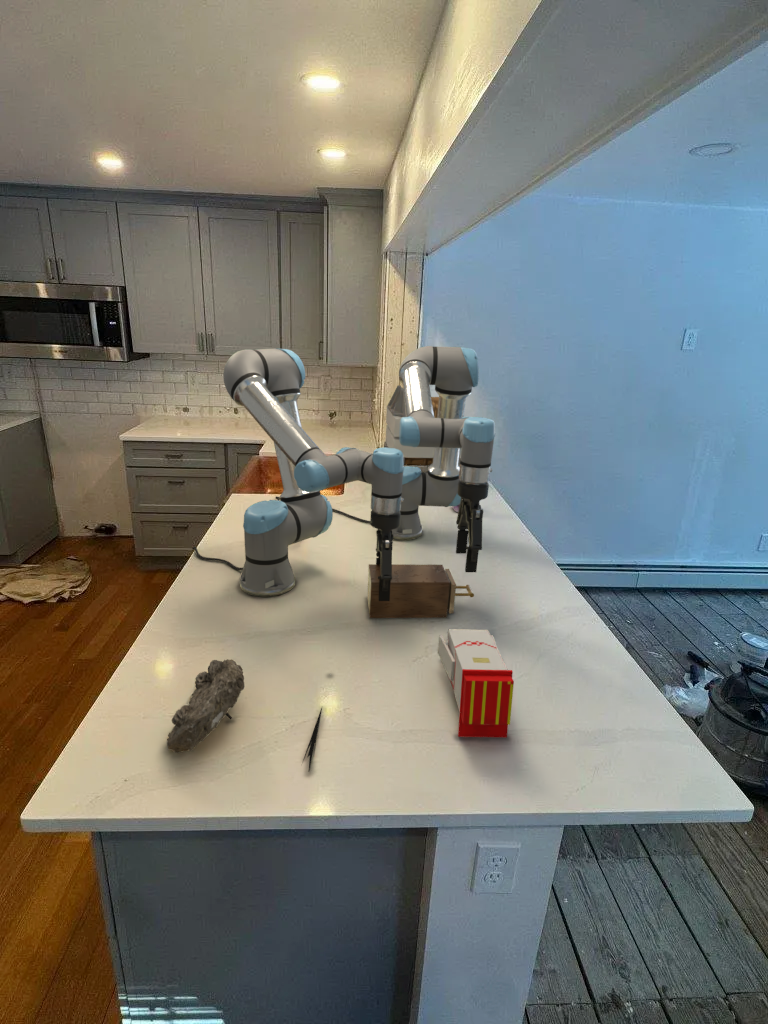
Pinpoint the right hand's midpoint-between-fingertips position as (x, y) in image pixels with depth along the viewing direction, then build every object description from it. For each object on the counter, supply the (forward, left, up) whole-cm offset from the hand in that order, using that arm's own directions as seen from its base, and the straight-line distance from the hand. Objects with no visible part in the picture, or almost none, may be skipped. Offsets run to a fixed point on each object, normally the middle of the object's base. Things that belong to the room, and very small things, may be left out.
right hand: (465, 562), depth 148 cm
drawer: (-6, -8, -12) cm, 16 cm away
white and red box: (+25, -25, -13) cm, 38 cm away
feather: (+13, -55, -13) cm, 58 cm away
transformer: (-101, +82, -13) cm, 131 cm away
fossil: (0, -71, -13) cm, 72 cm away
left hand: (-13, -17, -8) cm, 23 cm away
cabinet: (-9, -12, -13) cm, 20 cm away
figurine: (-54, +60, -13) cm, 81 cm away
